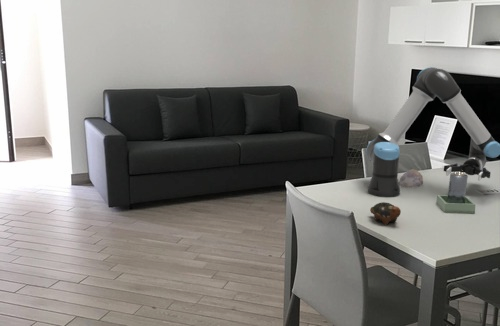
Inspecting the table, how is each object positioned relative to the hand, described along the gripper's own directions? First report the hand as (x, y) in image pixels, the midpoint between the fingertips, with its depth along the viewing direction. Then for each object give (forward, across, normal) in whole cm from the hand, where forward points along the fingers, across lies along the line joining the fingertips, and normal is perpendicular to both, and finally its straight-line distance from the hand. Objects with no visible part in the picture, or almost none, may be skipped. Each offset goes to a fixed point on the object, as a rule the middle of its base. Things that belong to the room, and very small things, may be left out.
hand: (462, 175), depth 238 cm
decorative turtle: (+45, +19, -14) cm, 51 cm away
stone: (-19, +28, -13) cm, 36 cm away
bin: (+10, 0, -13) cm, 16 cm away
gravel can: (+10, 0, -12) cm, 16 cm away
